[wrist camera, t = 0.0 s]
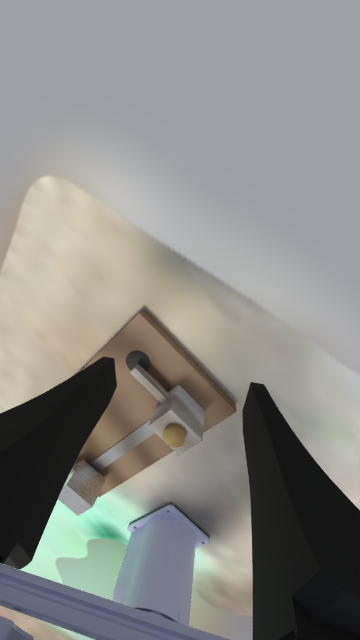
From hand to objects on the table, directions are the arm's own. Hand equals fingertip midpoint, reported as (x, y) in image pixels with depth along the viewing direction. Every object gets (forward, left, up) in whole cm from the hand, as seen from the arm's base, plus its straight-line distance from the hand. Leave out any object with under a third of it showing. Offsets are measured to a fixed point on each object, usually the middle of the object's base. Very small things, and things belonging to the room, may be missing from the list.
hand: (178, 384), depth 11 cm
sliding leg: (-24, -3, -9) cm, 26 cm away
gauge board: (-15, -2, -11) cm, 19 cm away
